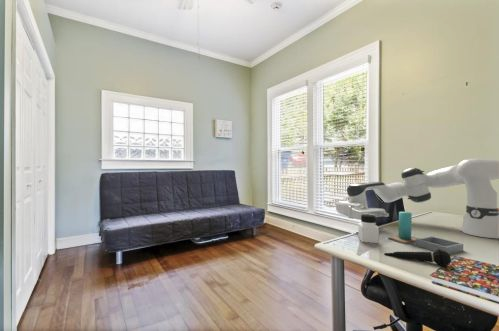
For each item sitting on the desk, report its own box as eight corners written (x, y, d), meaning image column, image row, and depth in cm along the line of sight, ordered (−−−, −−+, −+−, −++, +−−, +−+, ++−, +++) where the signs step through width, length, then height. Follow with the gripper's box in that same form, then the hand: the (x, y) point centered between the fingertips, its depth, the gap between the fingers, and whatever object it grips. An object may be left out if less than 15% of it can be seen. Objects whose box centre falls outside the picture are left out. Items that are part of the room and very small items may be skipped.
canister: (403, 236, 117) (403, 211, 117) (413, 239, 112) (414, 213, 112) (396, 237, 115) (396, 211, 115) (406, 240, 110) (407, 213, 110)
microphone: (385, 265, 92) (453, 270, 81) (383, 251, 91) (451, 255, 80) (385, 256, 96) (450, 260, 86) (383, 243, 95) (448, 246, 85)
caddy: (431, 242, 110) (431, 236, 110) (463, 250, 100) (463, 243, 100) (415, 245, 105) (415, 239, 105) (446, 254, 95) (446, 247, 95)
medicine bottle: (379, 243, 108) (379, 216, 108) (361, 242, 109) (362, 215, 109) (374, 238, 115) (374, 213, 115) (358, 237, 116) (358, 212, 116)
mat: (404, 236, 120) (404, 234, 120) (421, 240, 112) (421, 239, 112) (388, 239, 115) (388, 237, 115) (405, 244, 107) (405, 242, 107)
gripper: (372, 215, 141) (395, 220, 129) (346, 218, 133) (367, 223, 120) (372, 204, 141) (395, 208, 129) (346, 206, 133) (367, 211, 120)
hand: (381, 215), depth 124 cm, fingers open, 8 cm apart
